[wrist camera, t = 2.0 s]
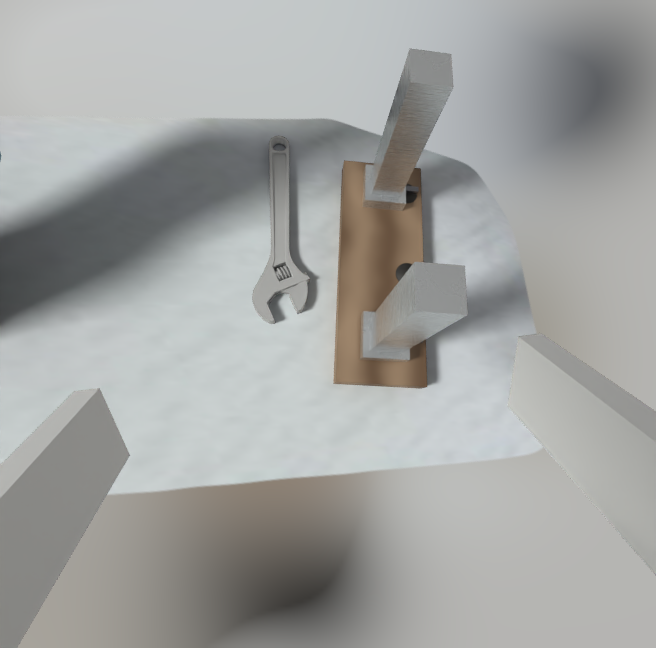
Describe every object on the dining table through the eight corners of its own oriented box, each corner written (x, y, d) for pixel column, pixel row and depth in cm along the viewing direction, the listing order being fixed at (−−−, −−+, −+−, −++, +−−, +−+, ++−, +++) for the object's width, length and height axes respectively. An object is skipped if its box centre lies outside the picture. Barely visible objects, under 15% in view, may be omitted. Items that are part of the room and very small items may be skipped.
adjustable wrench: (269, 143, 47) (268, 133, 45) (316, 148, 47) (317, 138, 45) (251, 321, 40) (250, 317, 38) (307, 324, 40) (307, 320, 39)
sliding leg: (360, 359, 37) (404, 321, 22) (361, 315, 38) (403, 250, 23) (421, 363, 38) (505, 328, 23) (419, 319, 39) (498, 258, 24)
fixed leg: (362, 207, 42) (401, 88, 27) (363, 172, 44) (400, 40, 28) (415, 212, 43) (483, 98, 28) (415, 177, 44) (479, 51, 29)
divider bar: (333, 383, 39) (335, 381, 36) (342, 171, 46) (344, 159, 44) (420, 388, 39) (427, 386, 37) (415, 178, 47) (420, 167, 45)
